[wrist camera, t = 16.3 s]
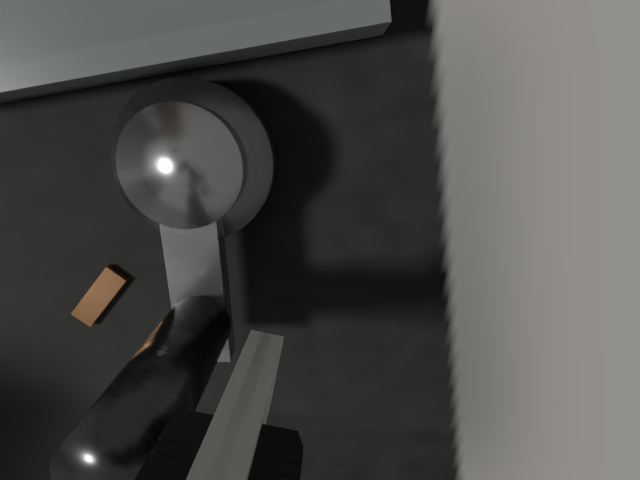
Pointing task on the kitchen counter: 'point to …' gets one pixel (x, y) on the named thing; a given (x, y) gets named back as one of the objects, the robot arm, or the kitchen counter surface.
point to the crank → (183, 281)
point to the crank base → (258, 157)
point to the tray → (161, 37)
